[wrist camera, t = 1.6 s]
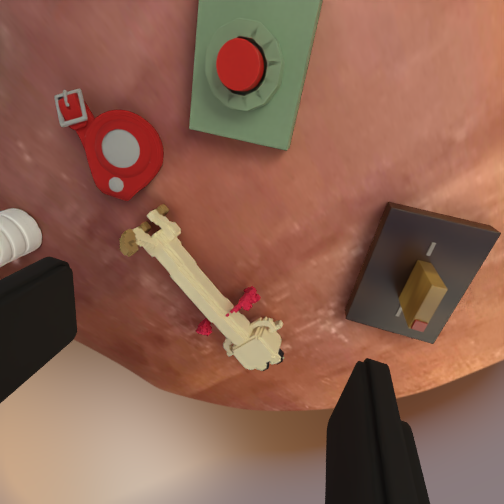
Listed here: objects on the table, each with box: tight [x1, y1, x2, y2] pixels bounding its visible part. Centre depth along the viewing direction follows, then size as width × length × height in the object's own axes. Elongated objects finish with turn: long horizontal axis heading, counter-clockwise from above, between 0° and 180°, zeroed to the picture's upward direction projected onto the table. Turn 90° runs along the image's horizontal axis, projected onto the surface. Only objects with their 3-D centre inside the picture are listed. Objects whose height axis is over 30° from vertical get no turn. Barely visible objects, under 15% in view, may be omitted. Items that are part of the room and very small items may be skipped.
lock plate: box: [345, 202, 501, 344], centre depth 33 cm, size 14×10×2 cm
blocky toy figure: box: [119, 204, 284, 371], centre depth 37 cm, size 10×9×25 cm
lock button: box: [216, 38, 264, 92], centre depth 25 cm, size 4×4×2 cm
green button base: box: [189, 0, 322, 151], centre depth 27 cm, size 12×10×4 cm
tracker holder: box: [54, 89, 164, 201], centre depth 34 cm, size 12×4×10 cm
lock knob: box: [399, 260, 448, 332], centre depth 30 cm, size 5×1×5 cm, turn 170°
